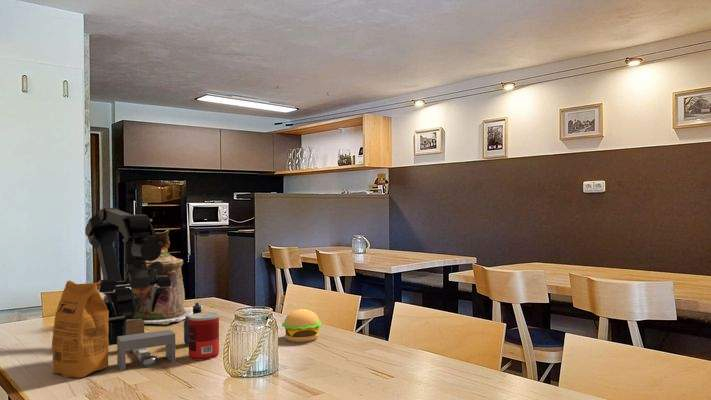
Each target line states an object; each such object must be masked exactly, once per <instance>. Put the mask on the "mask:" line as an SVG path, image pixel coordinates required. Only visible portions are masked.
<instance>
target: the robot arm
mask: <svg viewBox="0 0 711 400" xmlns="http://www.w3.org/2000/svg"><path fill="white" fill-rule="evenodd" d="M84 231H85V236H86V237H87V239H88V242H89V244H90V245H91V246H92V247H93V248H94V249H96V251H97V256H98V261H99V265H100V270H101V273H102V279H99V280H98V281H97V283H98V284H100V288H99V289H98V292H99V293H102V294H104V297H103V298H102V299H103V301H104V303H105V305H106V307H107V309H108V311H109V319H108V326H109V333H108V341H109V345H111V344H113V345H114V344H117V337H118V336H125V335H126V321H127V320H128V319H133V318H134V313H135V307H136V304H135V301H134V298H133V296H132V291H131V288H133V289H136V288H140V287H144V288H146V287H149V285H154V286H152V294H151V312H153V311H154V309H155V306H156V303H157V300H158V298H159V295H160V294H161V292H162V291H163V290H166V287H169V286H171V278H170V277H169V276H167V275H158V276H157V270H156V269H149V270H147V268H146V261H154V260H156V259H157V258H158V257H159V256H160V254H161V247H160V245H159V243H158V242H156V241H154V238H155V233H156V231H155V229H154V227H153V225H152V222H151V219H150V218H149V216H148V215H147V214H131V213H129V212H126V211H122V210H121V209H119V208H117V207H103V208H100V210H99V211H98V213H97V214H95V215H93V216H91V218H89V219H88V221H87V223H86V225H85V230H84ZM118 231H119V232H120V233H121V235H122V237H123V238H122V240H121V241H122V243H123V280H122V275H121V271H120V268H119V267H120V266H119V264H118V259H117V255H116V252H115V247H114V242H115V240H116V238H117V236H118V235H117V233H118Z"/></svg>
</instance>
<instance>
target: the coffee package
mask: <svg viewBox="0 0 711 400" xmlns="http://www.w3.org/2000/svg"><path fill="white" fill-rule="evenodd" d="M99 288H100V284H98V282H90V283H89V282H88V283H76V282H74V281H72V280H67V281H66V283H65V287H64V289H63V291H62V292H61V293H62V294H61V297H60V300H59V302H58V305H57V308H56V312H55V316H54V322H53V323H54V324H53V329H52V330H53V333H52V339H51V340H52V341H51V347H52V348H51V350H52V373H53V374H61V375H62V376H63V377H64V378H74V379H75V378H85V377H87V376H88V375H90V374H92V373H94V372H98V371H101V370H103V369H105V368H107V367H109V345H110V344H109V341H108V333H109V326H108V319H109V311H108V309H107V307H106V305H105V303H104V301H103V299H104V298H103V297H101V294H100V292H99V291H98V289H99Z"/></svg>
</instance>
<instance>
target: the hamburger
mask: <svg viewBox="0 0 711 400" xmlns="http://www.w3.org/2000/svg"><path fill="white" fill-rule="evenodd" d="M321 326H322V322H321V320H319V317H318V315H317V314H316V313H315V312H313V311H312V310H309V309H306V308H303V309H302V308H299V309H296V310H293V311H290V313H288V314H287V315H286V316H285V319H284V322H281V327H283V328H284V330H285V334H284V337H285V340H287V341H289V342H291V343H292V342H293V343H307V342H308V343H309V342H313V341H315V340H317V339H318V337H319V335H320V334H319V332H320V327H321Z"/></svg>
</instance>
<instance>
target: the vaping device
mask: <svg viewBox="0 0 711 400" xmlns="http://www.w3.org/2000/svg"><path fill="white" fill-rule="evenodd" d="M194 303H195V304H194V305H193V306H192V307H193V314H196V313H202V309H201V306H202V305H200V303H199V302H194ZM189 316H190V315H188V316H186V319H184V320H183V321H184V322H183V342H184V345H186V346H189V328H188V322H189Z"/></svg>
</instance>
